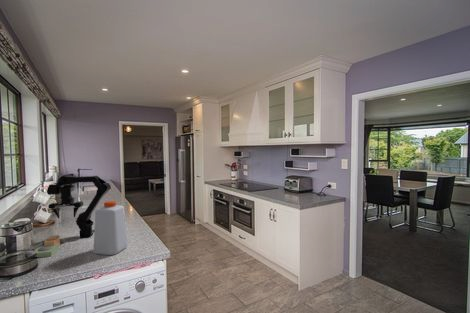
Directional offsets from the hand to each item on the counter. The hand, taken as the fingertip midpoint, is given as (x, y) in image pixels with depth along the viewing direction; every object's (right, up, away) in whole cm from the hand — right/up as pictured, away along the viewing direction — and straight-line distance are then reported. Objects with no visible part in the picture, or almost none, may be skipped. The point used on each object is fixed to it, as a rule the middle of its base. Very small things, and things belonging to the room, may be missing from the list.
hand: (66, 217), depth 169 cm
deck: (+2, -14, -21) cm, 25 cm away
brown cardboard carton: (+3, -14, -17) cm, 22 cm away
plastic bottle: (+40, -14, -22) cm, 48 cm away
